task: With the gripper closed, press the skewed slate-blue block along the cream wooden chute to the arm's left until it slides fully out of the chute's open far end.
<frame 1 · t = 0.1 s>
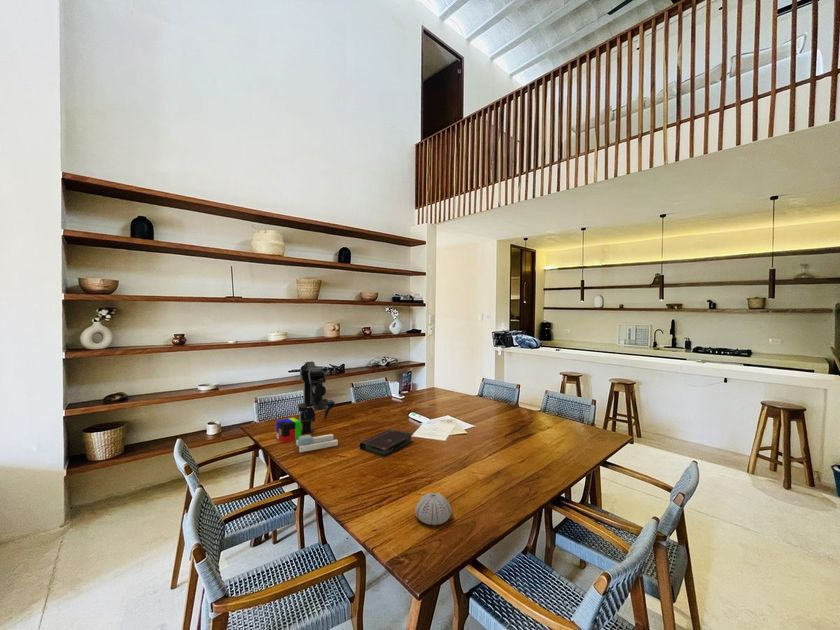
hand: (316, 421, 184), 15 cm above the table, fingers open, 9 cm apart
diary: (387, 446, 189), on the table
sea urchin shell: (432, 517, 125), on the table
puzzle toy: (288, 438, 198), on the table
block: (305, 447, 186), on the table
chute: (317, 444, 189), on the table
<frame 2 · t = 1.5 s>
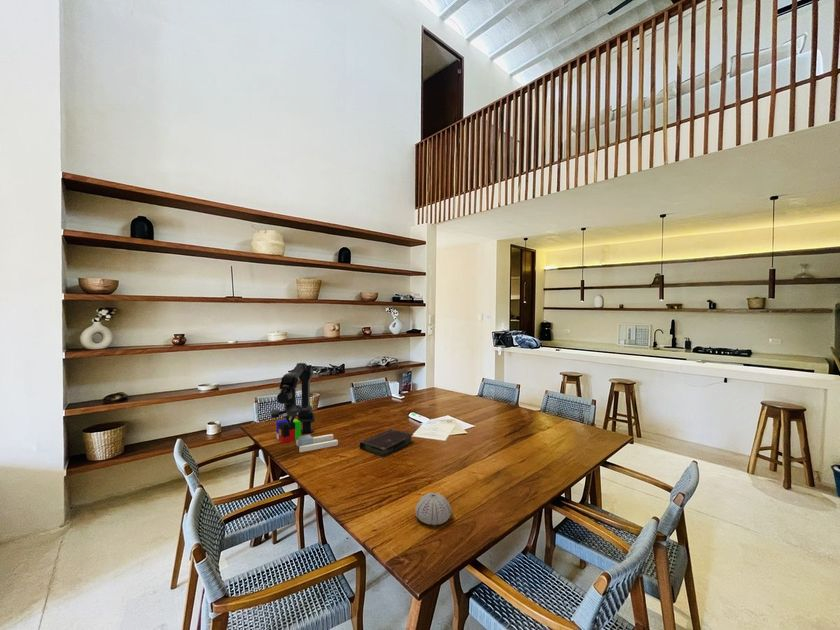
hand: (290, 427, 182), 12 cm above the table, fingers closed
nothing on the table moved.
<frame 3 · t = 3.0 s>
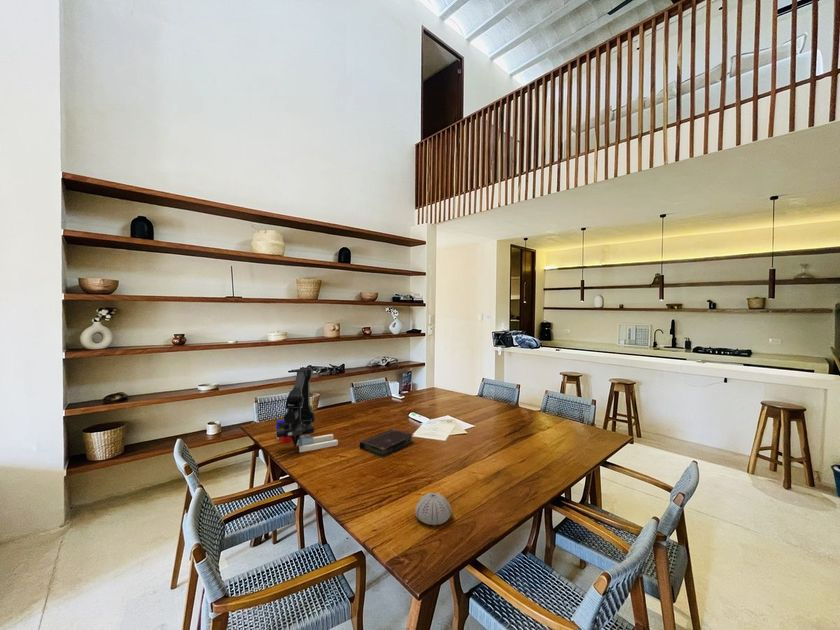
hand: (295, 446, 184), 1 cm above the table, fingers closed
block: (305, 447, 186), on the table, touching gripper
everything else where it was.
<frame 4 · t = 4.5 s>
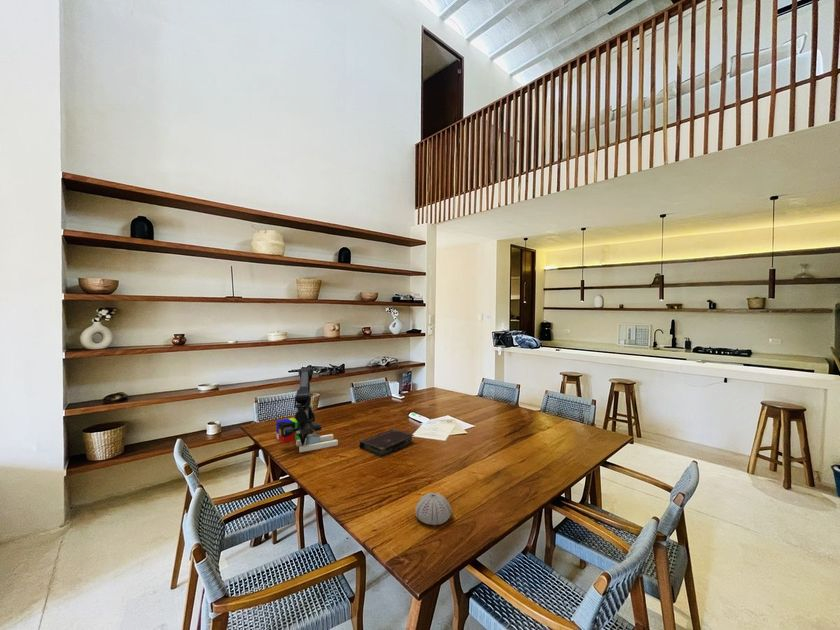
hand: (302, 444, 185), 2 cm above the table, fingers closed
block: (313, 445, 188), on the table, touching gripper
everything else where it was.
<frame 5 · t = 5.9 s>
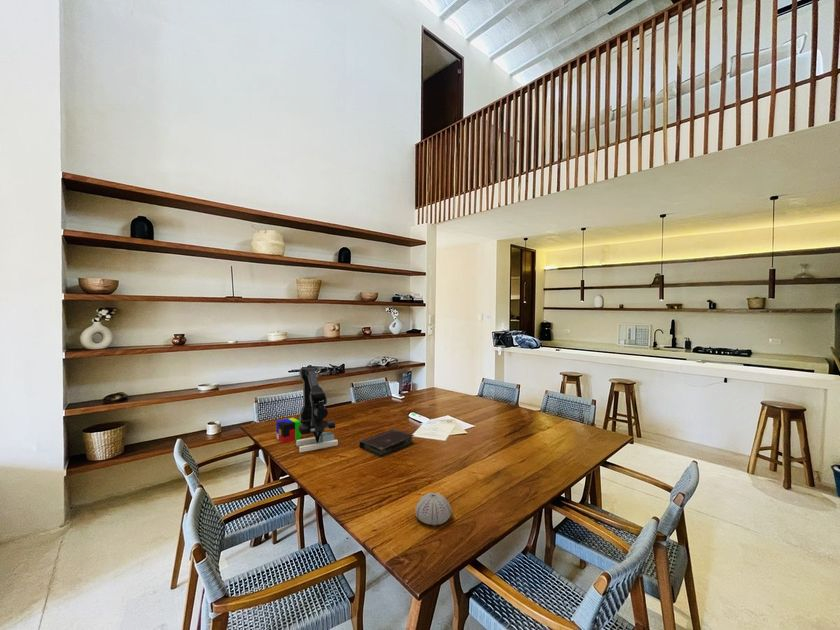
hand: (317, 442, 189), 2 cm above the table, fingers closed
block: (327, 443, 191), on the table, touching gripper
everything else where it was.
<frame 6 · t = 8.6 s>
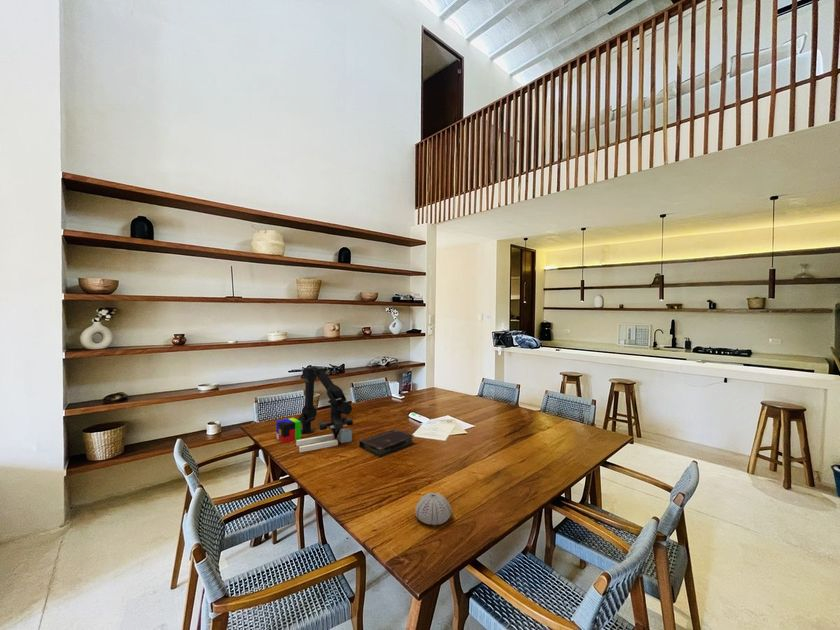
hand: (335, 438, 194), 2 cm above the table, fingers closed
block: (345, 440, 196), on the table, touching gripper
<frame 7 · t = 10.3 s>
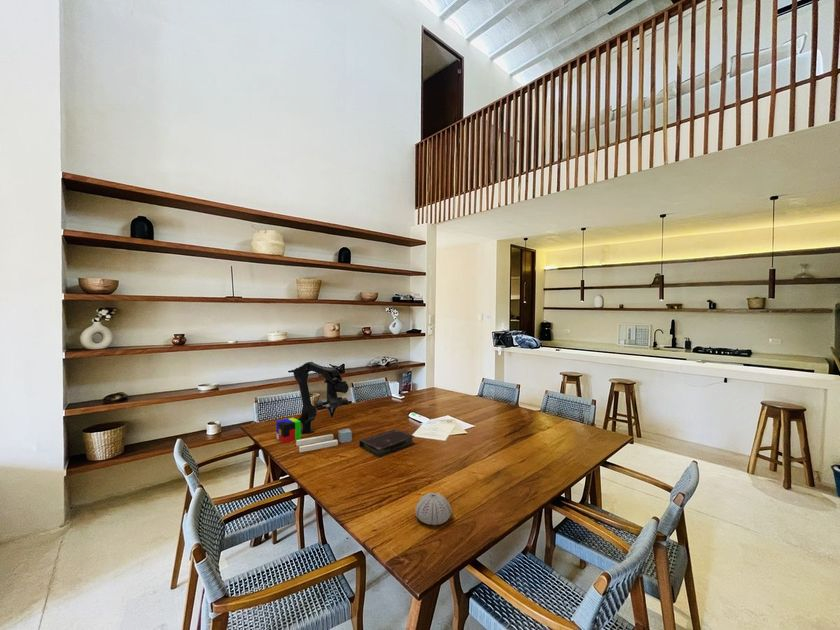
hand: (331, 417, 200), 12 cm above the table, fingers closed
block: (345, 440, 196), on the table
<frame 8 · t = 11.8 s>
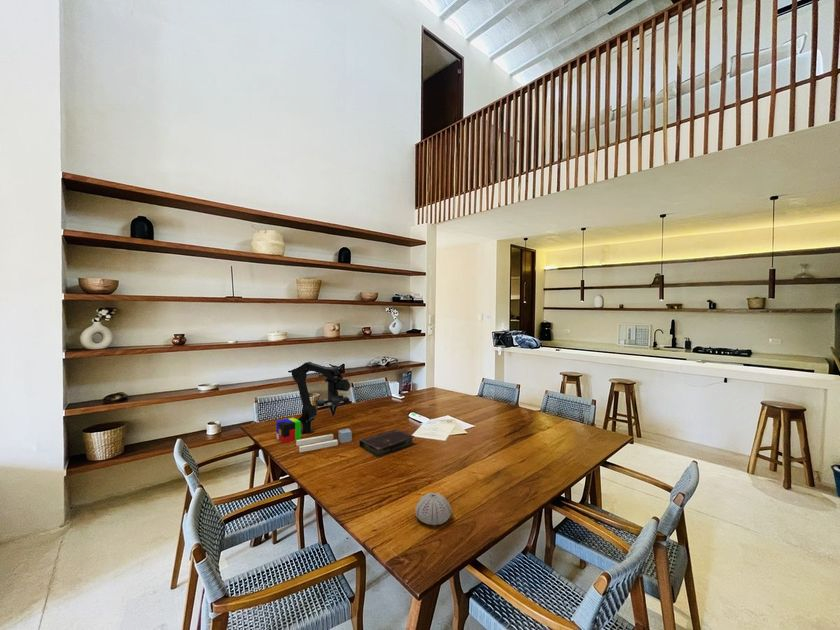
hand: (332, 415, 202), 12 cm above the table, fingers closed
at the end: block inside the target area (2.0 cm from its centre), on the table; block tilted 0°; block touching table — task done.
